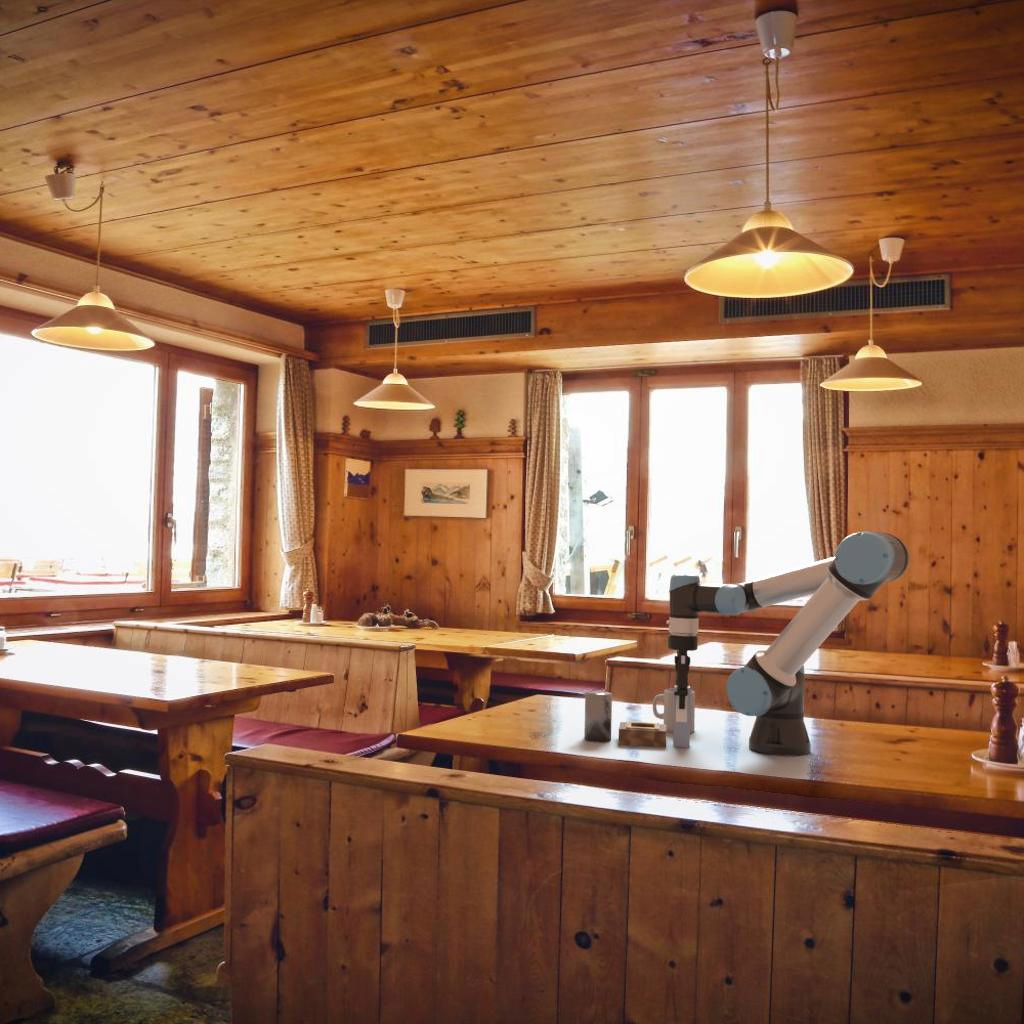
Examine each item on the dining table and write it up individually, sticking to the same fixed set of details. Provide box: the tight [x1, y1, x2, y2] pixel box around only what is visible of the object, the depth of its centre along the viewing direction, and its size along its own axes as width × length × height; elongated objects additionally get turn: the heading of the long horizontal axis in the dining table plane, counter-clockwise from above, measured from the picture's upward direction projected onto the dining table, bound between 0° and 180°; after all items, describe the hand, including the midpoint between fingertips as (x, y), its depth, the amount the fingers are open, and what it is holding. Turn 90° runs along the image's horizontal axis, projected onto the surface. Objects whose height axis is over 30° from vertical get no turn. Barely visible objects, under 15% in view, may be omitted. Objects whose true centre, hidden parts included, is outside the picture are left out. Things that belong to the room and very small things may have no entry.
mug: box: [652, 688, 696, 734], centre depth 267 cm, size 12×8×11 cm
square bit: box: [672, 684, 691, 748], centre depth 245 cm, size 4×4×16 cm
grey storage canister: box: [583, 690, 613, 743], centre depth 250 cm, size 7×7×12 cm
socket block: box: [618, 720, 667, 748], centre depth 248 cm, size 12×10×4 cm
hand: (680, 717), depth 245 cm, fingers open, 13 cm apart
